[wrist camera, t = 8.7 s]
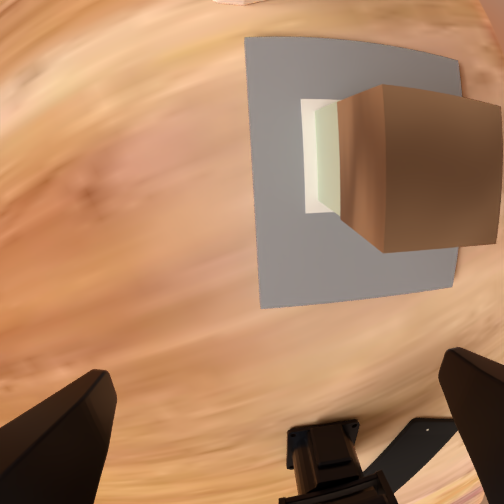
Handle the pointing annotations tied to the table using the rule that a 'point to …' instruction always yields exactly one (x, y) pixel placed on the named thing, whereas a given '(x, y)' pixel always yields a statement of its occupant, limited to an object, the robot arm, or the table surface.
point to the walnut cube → (420, 168)
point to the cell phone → (412, 449)
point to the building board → (305, 170)
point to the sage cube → (328, 156)
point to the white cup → (237, 1)
